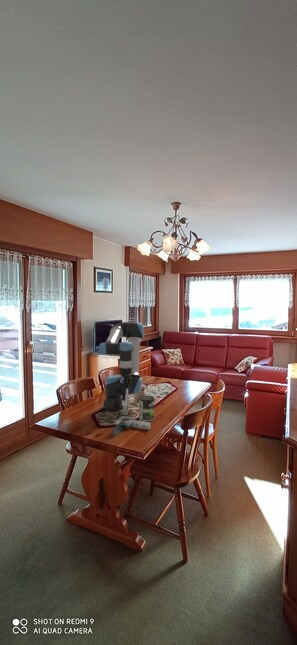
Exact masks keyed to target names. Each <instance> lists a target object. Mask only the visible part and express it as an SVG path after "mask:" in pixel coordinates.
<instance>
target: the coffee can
mask: <svg viewBox="0 0 297 645" xmlns="http://www.w3.org/2000/svg"><path fill="white" fill-rule="evenodd" d="M138 420H139V421H144V422H153V420H155V396H153V395H147V394H145V395H141V396H139V397H138Z"/></svg>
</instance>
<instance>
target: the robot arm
mask: <svg viewBox="0 0 297 645" xmlns="http://www.w3.org/2000/svg"><path fill="white" fill-rule="evenodd" d="M121 338H126V340H127V341H122V342H119V341H120V339H121ZM143 338H145V329H144V325H143V322H138V321H137V322H136V321H135V322H128V321H127V322H125V321H123V322H119V323H117V324H115V325H114V326H112V328H110V330H109V336H108V337H107V339H106V341H105V342H101V343H100V344H99V348H98V350H99V351H98V352H99V354H100V355H105V356H106V355H107V356H110V355H111V356H114V355H115V356H119V374H113V375H110V376H107V377H106V378H105V384H104V385H105V389H104V390H105V391H104V392H105V393H104V394H105V396H104V401H103V405H102V409H103V410H105V411H109V412H110V411H111V412H114V411H115V412H116V411H120V410H123V406H127V395H126V388H128V405H129V404H130V395H139V394H140V393H141V392H142V387H143V377H141V374H140V351H141V347H140V346H141V342H142V340H143Z"/></svg>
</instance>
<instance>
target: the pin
mask: <svg viewBox="0 0 297 645" xmlns="http://www.w3.org/2000/svg"><path fill="white" fill-rule="evenodd" d="M126 395H127V406H123V409H122V416H127V415H129V404H128V388H126Z"/></svg>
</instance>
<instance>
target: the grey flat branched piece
mask: <svg viewBox="0 0 297 645" xmlns="http://www.w3.org/2000/svg"><path fill="white" fill-rule="evenodd" d="M151 422H152V421H142V420H137V419H135V417H132V416H127V415H122V416H120V417H119V418H118V419H116V420H115V424H116V425H115V426H114V427H113V428H112V430H111V432H112V436H113V437H116V436H117V435H118V434H119V433H120V432H122V431H123V430H124V429H127V430H130V429H131V428H137V429H141V430H142V429H143V430H151V424H152V423H151Z"/></svg>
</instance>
